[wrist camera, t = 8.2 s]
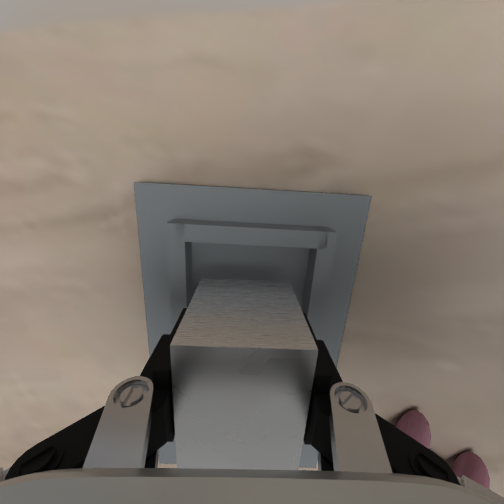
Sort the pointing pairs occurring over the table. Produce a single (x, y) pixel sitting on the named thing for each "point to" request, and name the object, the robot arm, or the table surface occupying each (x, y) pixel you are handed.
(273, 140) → the table surface
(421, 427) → the video game controller
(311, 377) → the billet
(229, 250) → the grey fixture tray
